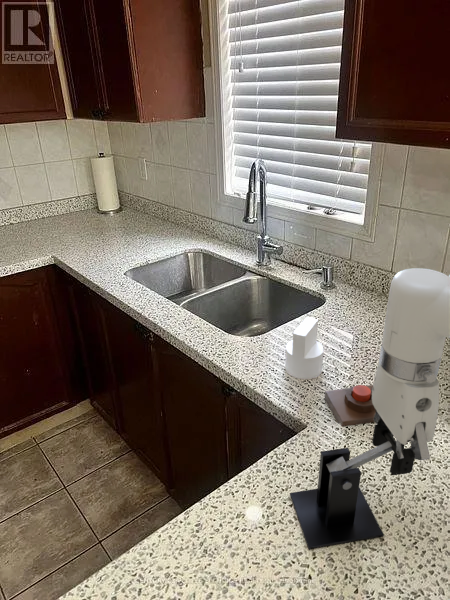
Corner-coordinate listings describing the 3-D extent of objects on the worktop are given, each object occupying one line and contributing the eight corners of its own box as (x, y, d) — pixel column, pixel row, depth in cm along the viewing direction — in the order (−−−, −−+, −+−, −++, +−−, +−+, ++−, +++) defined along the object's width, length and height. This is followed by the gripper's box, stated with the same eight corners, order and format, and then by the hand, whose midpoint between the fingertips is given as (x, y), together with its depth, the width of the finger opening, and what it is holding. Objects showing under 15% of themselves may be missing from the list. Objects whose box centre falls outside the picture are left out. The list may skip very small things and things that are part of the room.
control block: (375, 392, 101) (377, 377, 99) (397, 422, 92) (399, 407, 90) (324, 398, 100) (325, 384, 98) (341, 430, 91) (343, 414, 89)
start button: (365, 390, 96) (366, 383, 95) (372, 401, 93) (374, 394, 92) (349, 392, 96) (350, 385, 95) (356, 403, 92) (357, 396, 92)
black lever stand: (356, 488, 78) (364, 432, 72) (382, 540, 69) (394, 482, 63) (289, 498, 76) (292, 443, 71) (308, 553, 68) (313, 495, 62)
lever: (391, 435, 70) (386, 426, 69) (407, 459, 65) (403, 449, 64) (328, 466, 71) (322, 457, 70) (340, 492, 66) (334, 482, 65)
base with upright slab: (293, 354, 116) (295, 313, 110) (327, 363, 111) (330, 321, 106) (279, 373, 109) (280, 330, 103) (314, 383, 105) (317, 339, 99)
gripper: (475, 395, 53) (446, 500, 61) (403, 325, 68) (387, 417, 76) (417, 403, 52) (395, 509, 60) (356, 330, 67) (345, 422, 75)
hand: (391, 456), depth 68 cm, fingers closed on lever, 5 cm apart
